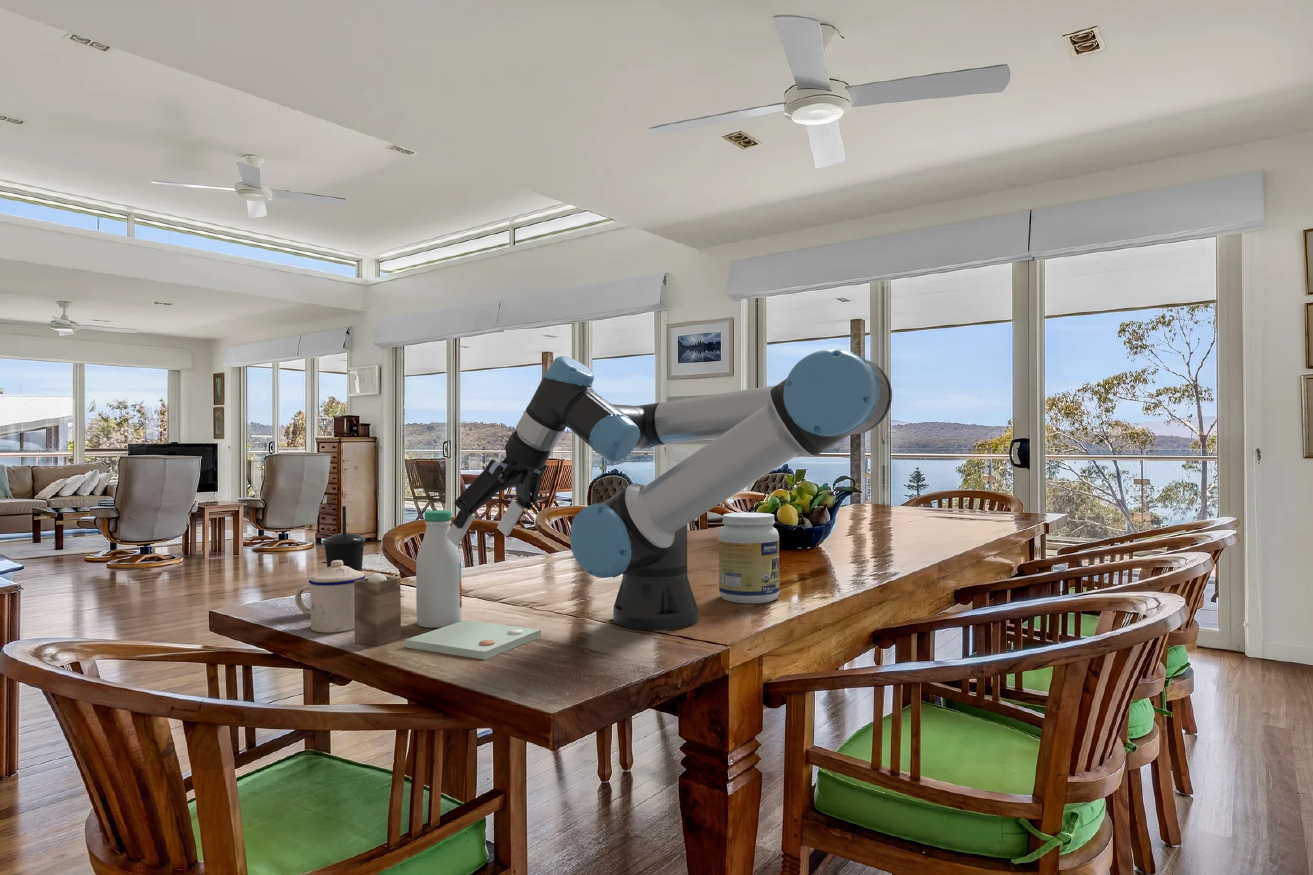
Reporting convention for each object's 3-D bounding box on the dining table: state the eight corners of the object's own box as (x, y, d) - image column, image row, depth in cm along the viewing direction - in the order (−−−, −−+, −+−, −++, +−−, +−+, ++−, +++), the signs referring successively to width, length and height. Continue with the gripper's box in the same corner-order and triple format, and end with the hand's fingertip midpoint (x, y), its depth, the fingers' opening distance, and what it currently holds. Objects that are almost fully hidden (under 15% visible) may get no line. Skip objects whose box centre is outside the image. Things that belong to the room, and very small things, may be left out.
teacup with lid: (374, 620, 136) (373, 556, 136) (351, 633, 127) (350, 565, 127) (309, 620, 137) (308, 556, 137) (282, 633, 127) (281, 565, 128)
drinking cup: (331, 605, 149) (329, 504, 149) (370, 604, 150) (369, 504, 150) (318, 614, 141) (316, 508, 141) (360, 613, 142) (358, 507, 142)
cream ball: (391, 590, 123) (391, 572, 123) (376, 594, 120) (376, 575, 120) (378, 589, 124) (377, 571, 124) (363, 592, 122) (363, 574, 122)
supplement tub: (771, 607, 143) (769, 518, 143) (710, 602, 148) (709, 516, 148) (786, 594, 155) (785, 512, 155) (729, 590, 159) (728, 510, 159)
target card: (541, 637, 123) (540, 627, 123) (485, 659, 111) (485, 649, 111) (465, 626, 131) (465, 618, 131) (405, 647, 118) (405, 637, 118)
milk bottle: (457, 628, 130) (456, 512, 130) (411, 629, 129) (410, 513, 129) (465, 617, 138) (464, 508, 138) (422, 619, 137) (421, 509, 137)
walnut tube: (400, 638, 123) (400, 577, 123) (377, 646, 119) (376, 583, 119) (378, 635, 126) (378, 575, 126) (354, 642, 121) (354, 580, 121)
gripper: (559, 427, 142) (508, 516, 148) (471, 426, 120) (414, 530, 125) (587, 450, 139) (533, 540, 145) (501, 453, 117) (442, 559, 123)
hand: (478, 536), depth 135 cm, fingers open, 13 cm apart
